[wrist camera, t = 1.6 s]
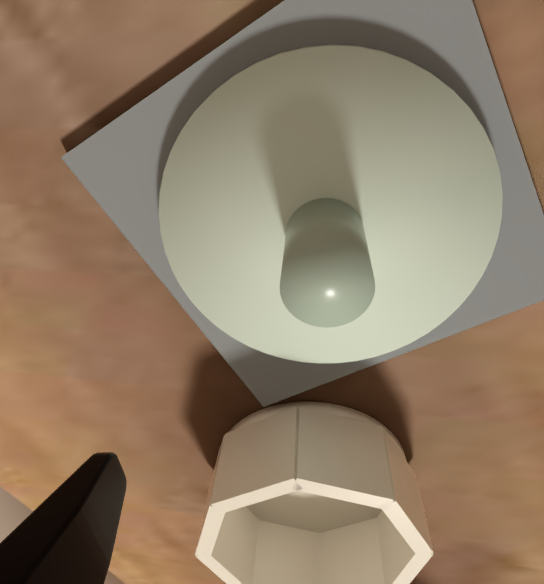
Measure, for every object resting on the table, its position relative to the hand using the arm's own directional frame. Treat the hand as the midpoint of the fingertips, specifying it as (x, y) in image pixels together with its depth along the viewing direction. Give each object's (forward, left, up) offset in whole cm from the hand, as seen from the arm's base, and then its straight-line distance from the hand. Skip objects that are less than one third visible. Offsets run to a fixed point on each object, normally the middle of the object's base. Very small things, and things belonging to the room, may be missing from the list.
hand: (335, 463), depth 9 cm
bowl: (+8, +14, -12) cm, 20 cm away
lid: (0, 0, -11) cm, 11 cm away
